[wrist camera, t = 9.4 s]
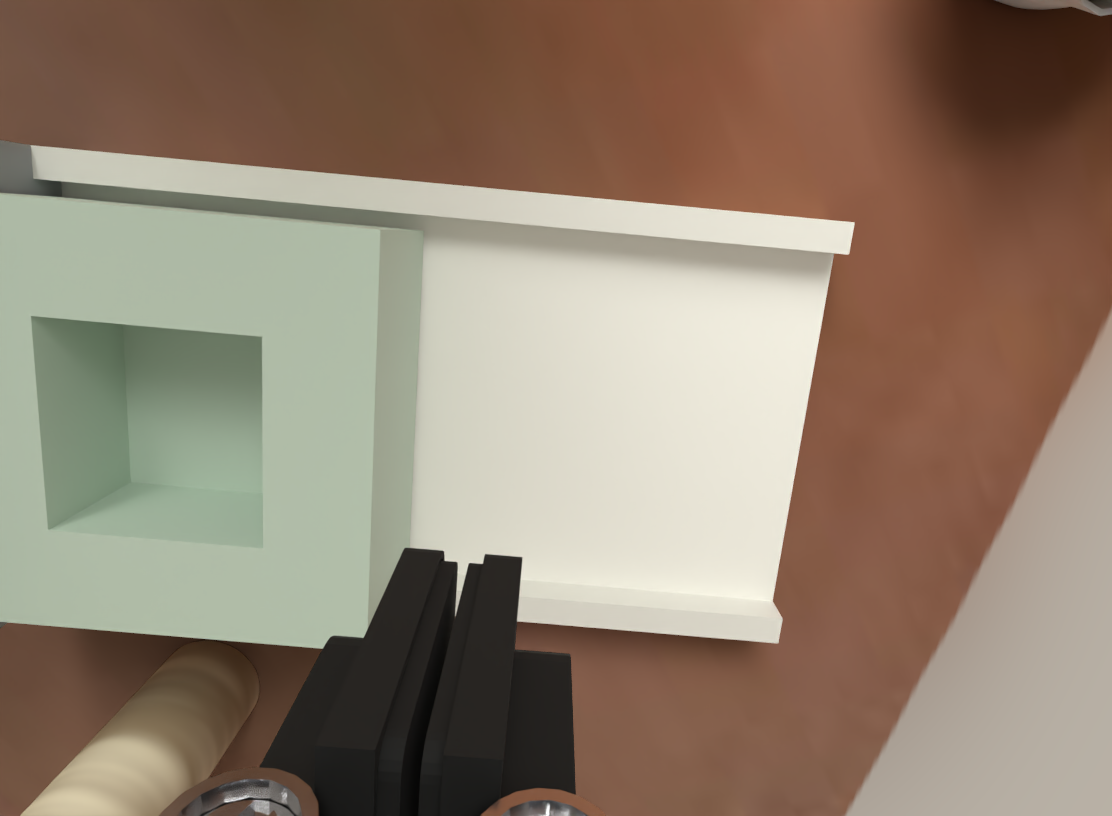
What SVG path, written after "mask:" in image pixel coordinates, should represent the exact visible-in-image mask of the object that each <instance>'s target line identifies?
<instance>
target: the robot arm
mask: <svg viewBox="0 0 1112 816" xmlns="http://www.w3.org/2000/svg"><path fill="white" fill-rule="evenodd" d="M521 570H522V557H515V556H503V555H491V554H485V556H484V561H483V564H477V563H469V565H468V568H467V572H466V576H465V580H464V584H463V589H462V593H461V597H460V601H459V605H458V609H457V613H456V617H455V607H456V591H457V574H458V563H457V562H452V561H445V557H444V551H442V550H430V549H417V548H404V550H403V552H402V554H401V556H400V559H399V561H398V563H397V565H396V567H395V570H394V572H393V574H392V576H391V578H390V581H389V583H388V585H387V587H386V589H385V592H384V594H383V596H382V598H381V600H380V603H379V605H378V607H377V609H376V612H375V614H374V616H373V618H372V620H371V623H370V625H369V627H368V629H367V631H366V634H365V636H364V638H361V637H348V636H335V635H334V636H332V637H330V638H329V640H328V641H327V642H326V644H325V646H324V648H323V649H322V651H321V653H320V655H319V657H318V659H317V661H316V663H315V664H314V666H313V668H312V670H311V672H310V674H309V676H308V678H307V679H306V681H305V683H304V685H303V687H302V689H301V691H300V692H299V694H298V696H297V698H296V700H295V702H294V704H293V706H292V707H291V709H290V711H289V713H288V715H287V717H286V719H285V721H284V722H283V724H282V726H281V728H280V730H279V732H278V734H277V735H276V737H275V739H274V741H273V743H272V745H271V747H270V749H269V750H268V752H267V754H266V756H265V758H264V760H263V762H262V763H261V765H260V767H252V768H245V769H239V770H232V771H228V772H225V773H222V774H219V775H217V776H214V777H211V778H208V779H206V780H204V781H202V782H200V783H199V784H197V785H195V786H193V787H192V788H190V789H188V790H187V791H185V792H183V793H182V794H181V795H180V796H178V797H177V798H176V799H175V800H174V801H173V802H172V803H171V804H170V805H169V806H168V807H167V808H165V809H164V810H163V811H162V812H161V814H160V815H159V816H606V815H605V814H604V812H603V811H602V810H601V809H600V808H598V807H597V806H595V805H593V804H592V803H590V802H589V801H587V800H586V799H584V798H582V797H580V796H577V795H576V791H575V762H574V734H573V706H572V678H571V657H570V654H564V653H552V652H539V651H526V650H515V640H516V628H517V616H518V605H519V593H520V581H521Z"/></svg>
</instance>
